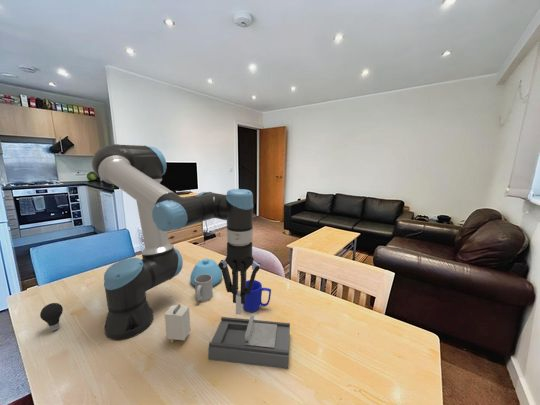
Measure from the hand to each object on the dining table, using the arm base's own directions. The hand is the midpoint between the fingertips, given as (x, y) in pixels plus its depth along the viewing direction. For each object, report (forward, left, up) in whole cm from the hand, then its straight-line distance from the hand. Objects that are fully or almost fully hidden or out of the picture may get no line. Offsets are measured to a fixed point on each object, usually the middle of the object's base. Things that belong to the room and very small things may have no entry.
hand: (239, 311), depth 72 cm
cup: (-22, +22, -12) cm, 33 cm away
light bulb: (-66, -2, -12) cm, 67 cm away
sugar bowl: (-26, +36, -12) cm, 46 cm away
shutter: (+7, 0, -8) cm, 11 cm away
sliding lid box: (+4, 0, -12) cm, 13 cm away
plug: (-21, 0, -12) cm, 24 cm away
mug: (+2, +19, -12) cm, 22 cm away
